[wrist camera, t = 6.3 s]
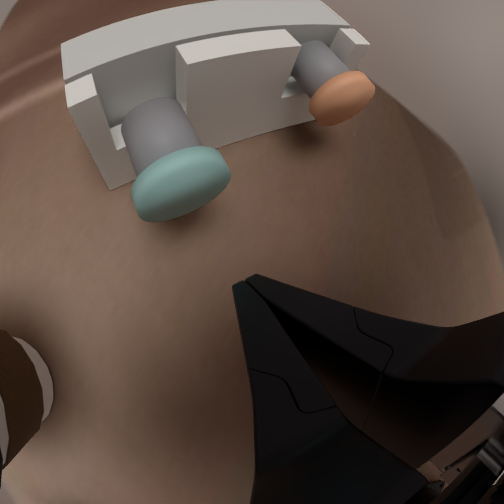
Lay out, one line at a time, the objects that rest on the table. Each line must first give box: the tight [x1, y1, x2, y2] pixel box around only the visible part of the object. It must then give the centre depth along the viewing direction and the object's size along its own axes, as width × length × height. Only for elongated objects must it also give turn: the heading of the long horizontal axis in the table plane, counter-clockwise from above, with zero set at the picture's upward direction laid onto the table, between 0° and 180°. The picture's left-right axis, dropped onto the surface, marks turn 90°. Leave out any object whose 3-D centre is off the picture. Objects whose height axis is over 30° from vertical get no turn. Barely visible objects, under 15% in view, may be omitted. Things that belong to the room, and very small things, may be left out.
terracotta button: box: [291, 40, 375, 126], centre depth 18 cm, size 5×5×5 cm
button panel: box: [61, 0, 370, 191], centre depth 19 cm, size 7×20×10 cm, turn 117°
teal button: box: [121, 97, 231, 222], centre depth 14 cm, size 5×5×5 cm
